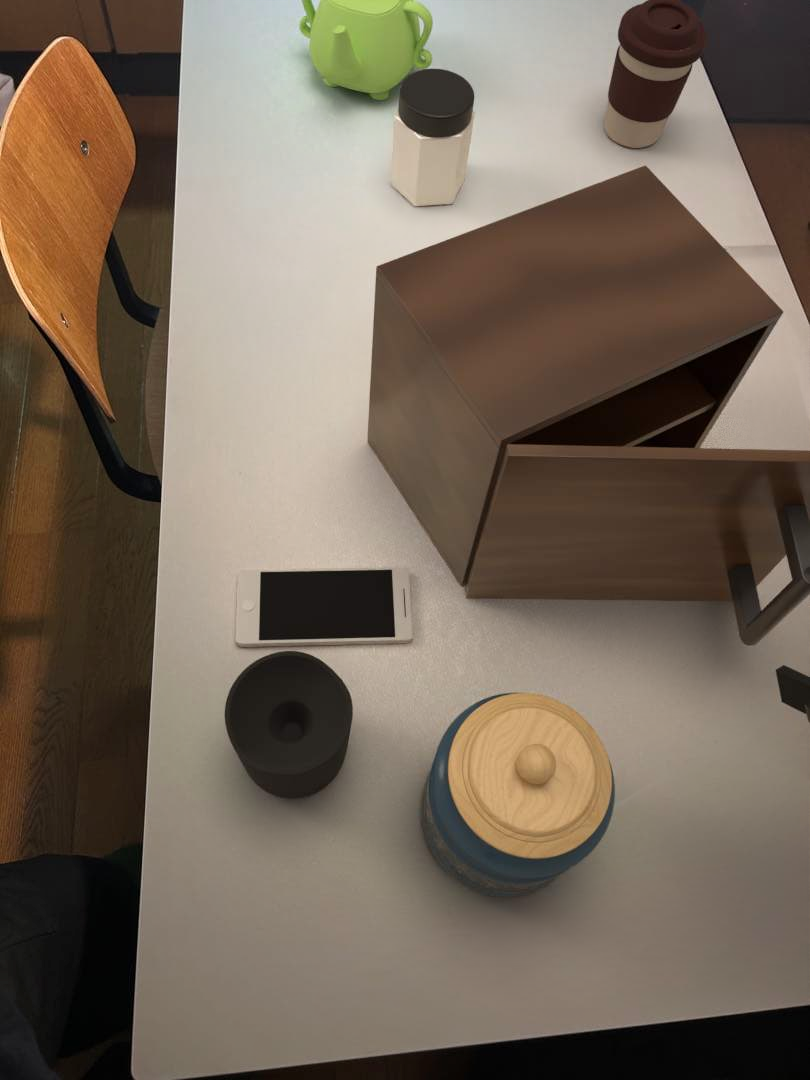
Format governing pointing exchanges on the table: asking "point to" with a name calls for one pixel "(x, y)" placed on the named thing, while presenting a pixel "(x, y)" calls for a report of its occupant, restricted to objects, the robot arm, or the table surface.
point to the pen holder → (289, 723)
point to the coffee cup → (651, 69)
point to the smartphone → (323, 607)
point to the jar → (432, 136)
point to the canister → (516, 794)
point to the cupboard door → (648, 527)
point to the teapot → (367, 42)
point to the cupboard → (553, 345)
